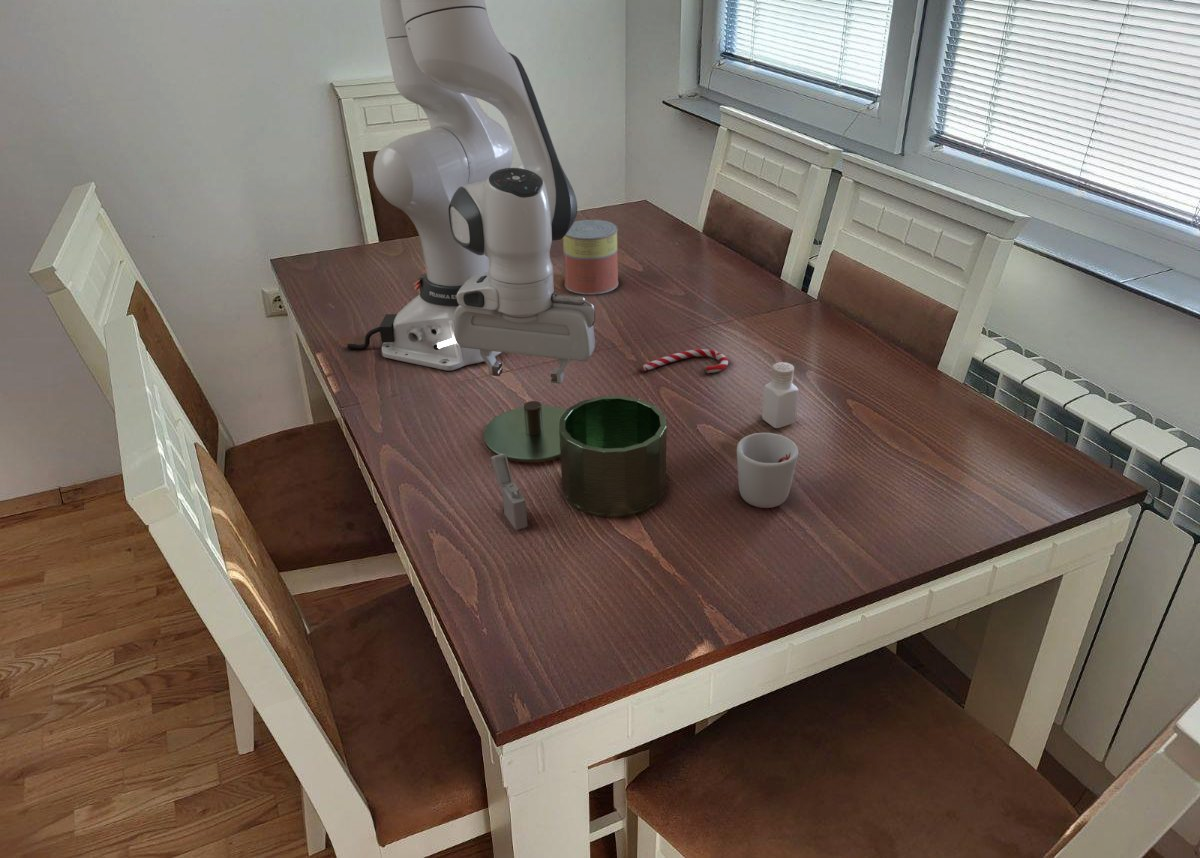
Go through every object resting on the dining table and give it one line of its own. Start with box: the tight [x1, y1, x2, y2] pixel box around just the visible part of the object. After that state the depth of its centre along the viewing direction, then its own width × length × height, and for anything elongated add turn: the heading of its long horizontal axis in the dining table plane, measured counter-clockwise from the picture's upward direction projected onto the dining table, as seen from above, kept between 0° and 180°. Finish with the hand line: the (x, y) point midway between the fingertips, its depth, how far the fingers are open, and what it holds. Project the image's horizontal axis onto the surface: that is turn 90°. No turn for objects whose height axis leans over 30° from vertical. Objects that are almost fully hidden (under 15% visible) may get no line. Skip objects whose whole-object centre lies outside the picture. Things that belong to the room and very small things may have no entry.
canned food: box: [562, 219, 619, 296], centre depth 182 cm, size 11×11×12 cm
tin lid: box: [483, 400, 567, 463], centre depth 133 cm, size 15×15×6 cm
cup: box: [736, 432, 799, 509], centre depth 120 cm, size 11×8×8 cm
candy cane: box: [641, 348, 729, 374], centre depth 153 cm, size 8×1×15 cm
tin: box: [559, 395, 668, 518], centre depth 121 cm, size 14×14×10 cm
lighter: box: [490, 454, 529, 531], centre depth 117 cm, size 7×2×8 cm, turn 27°
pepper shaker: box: [761, 361, 800, 429], centre depth 135 cm, size 4×4×10 cm
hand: (526, 377), depth 130 cm, fingers open, 8 cm apart
